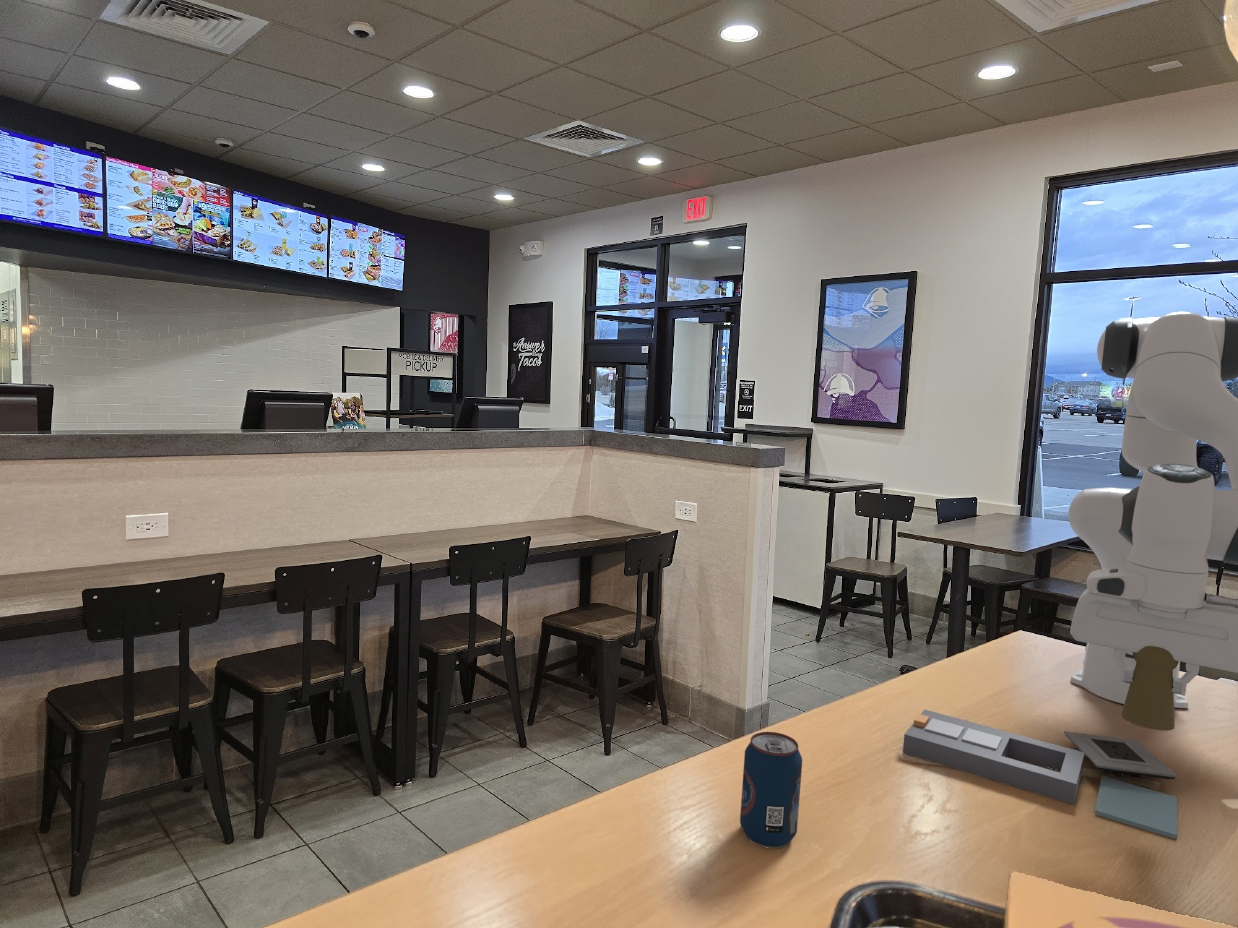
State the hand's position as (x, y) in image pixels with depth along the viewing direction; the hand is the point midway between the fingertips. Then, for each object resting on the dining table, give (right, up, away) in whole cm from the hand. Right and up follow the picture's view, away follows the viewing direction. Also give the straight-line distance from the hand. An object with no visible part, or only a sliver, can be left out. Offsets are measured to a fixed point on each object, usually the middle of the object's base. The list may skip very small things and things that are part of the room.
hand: (1151, 687), depth 106 cm
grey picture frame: (+4, -16, +13) cm, 21 cm away
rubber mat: (-1, -17, +2) cm, 17 cm away
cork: (0, -5, 0) cm, 5 cm away
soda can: (-53, -16, -9) cm, 57 cm away
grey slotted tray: (-15, -15, +13) cm, 25 cm away
